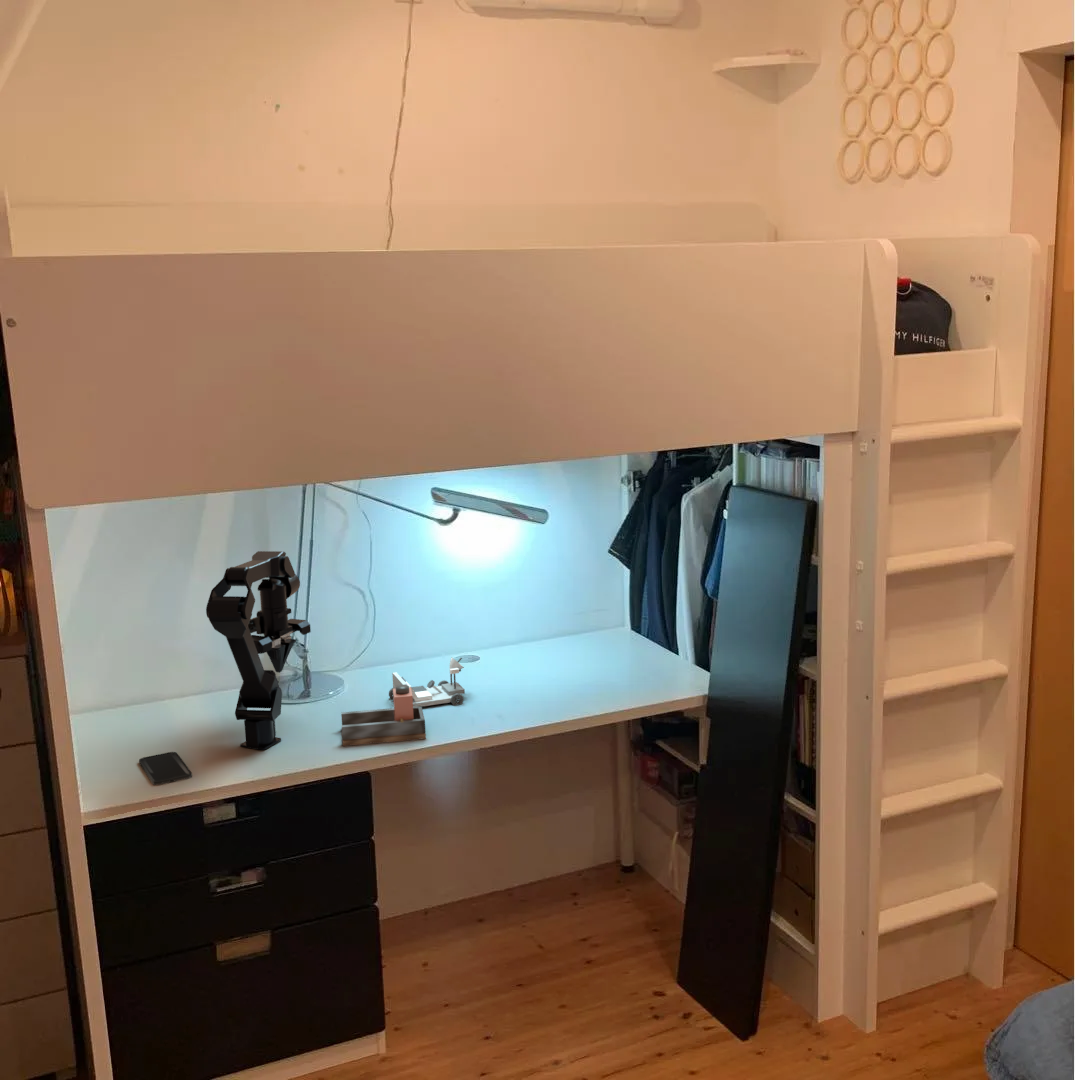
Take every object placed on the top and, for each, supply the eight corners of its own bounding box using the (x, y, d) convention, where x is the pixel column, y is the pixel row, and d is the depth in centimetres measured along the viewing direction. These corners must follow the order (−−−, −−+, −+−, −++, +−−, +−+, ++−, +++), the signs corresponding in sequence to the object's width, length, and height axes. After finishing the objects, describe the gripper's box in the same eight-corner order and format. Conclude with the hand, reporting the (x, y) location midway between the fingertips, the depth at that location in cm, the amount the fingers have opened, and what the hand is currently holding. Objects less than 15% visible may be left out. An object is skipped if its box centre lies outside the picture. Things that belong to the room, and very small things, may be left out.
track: (342, 745, 250) (341, 726, 249) (342, 728, 261) (341, 709, 260) (425, 738, 253) (425, 719, 252) (421, 721, 264) (421, 703, 263)
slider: (395, 731, 254) (393, 692, 252) (394, 722, 260) (392, 683, 258) (414, 730, 255) (412, 690, 253) (412, 721, 261) (410, 682, 259)
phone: (175, 750, 248) (192, 774, 235) (175, 755, 248) (193, 779, 235) (137, 758, 244) (152, 782, 231) (137, 763, 244) (153, 787, 231)
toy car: (458, 651, 285) (473, 664, 274) (459, 689, 287) (474, 703, 276) (387, 661, 278) (399, 674, 268) (388, 699, 280) (401, 714, 270)
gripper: (270, 593, 272) (275, 656, 275) (218, 613, 255) (223, 680, 258) (309, 597, 267) (314, 661, 270) (258, 617, 250) (264, 686, 254)
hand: (278, 671), depth 263 cm, fingers closed
